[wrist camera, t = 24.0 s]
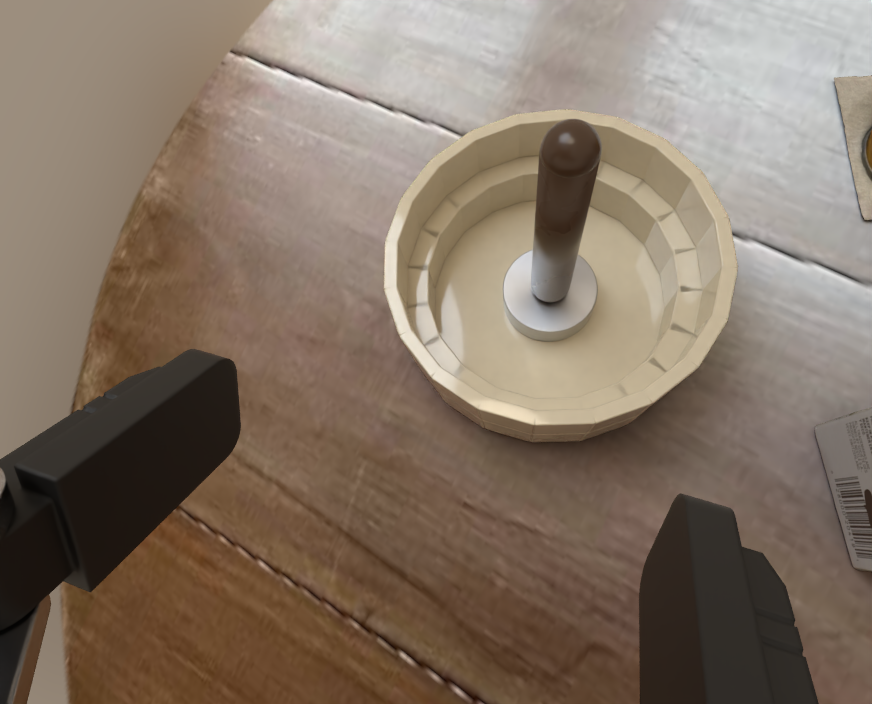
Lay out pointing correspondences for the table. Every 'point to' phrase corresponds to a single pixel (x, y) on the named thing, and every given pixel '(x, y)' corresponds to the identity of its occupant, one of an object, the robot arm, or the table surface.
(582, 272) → the espresso tamper
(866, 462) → the coffee box
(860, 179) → the condiment
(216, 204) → the table surface
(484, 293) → the bowl
